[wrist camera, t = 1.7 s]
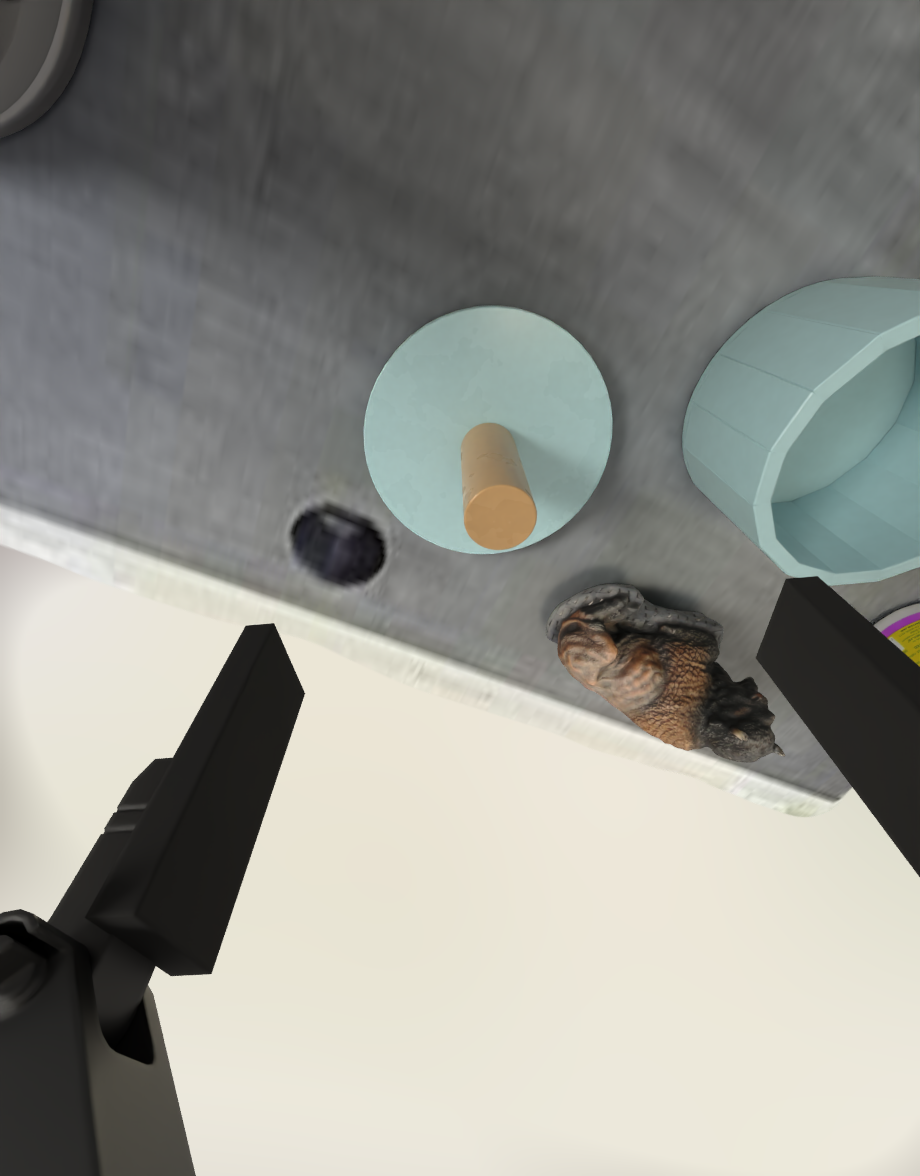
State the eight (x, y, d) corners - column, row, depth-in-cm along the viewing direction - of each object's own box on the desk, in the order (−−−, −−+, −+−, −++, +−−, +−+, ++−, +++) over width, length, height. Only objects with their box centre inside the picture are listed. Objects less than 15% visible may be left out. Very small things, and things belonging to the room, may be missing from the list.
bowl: (707, 293, 21) (811, 312, 15) (972, 262, 20) (1194, 269, 14) (665, 518, 28) (725, 595, 22) (864, 500, 27) (982, 573, 21)
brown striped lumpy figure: (528, 632, 33) (554, 760, 25) (572, 551, 29) (620, 671, 21) (675, 667, 35) (743, 793, 27) (734, 596, 31) (834, 719, 23)
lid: (340, 320, 21) (285, 356, 14) (618, 288, 21) (704, 308, 14) (391, 553, 29) (372, 652, 22) (596, 534, 28) (645, 629, 21)
